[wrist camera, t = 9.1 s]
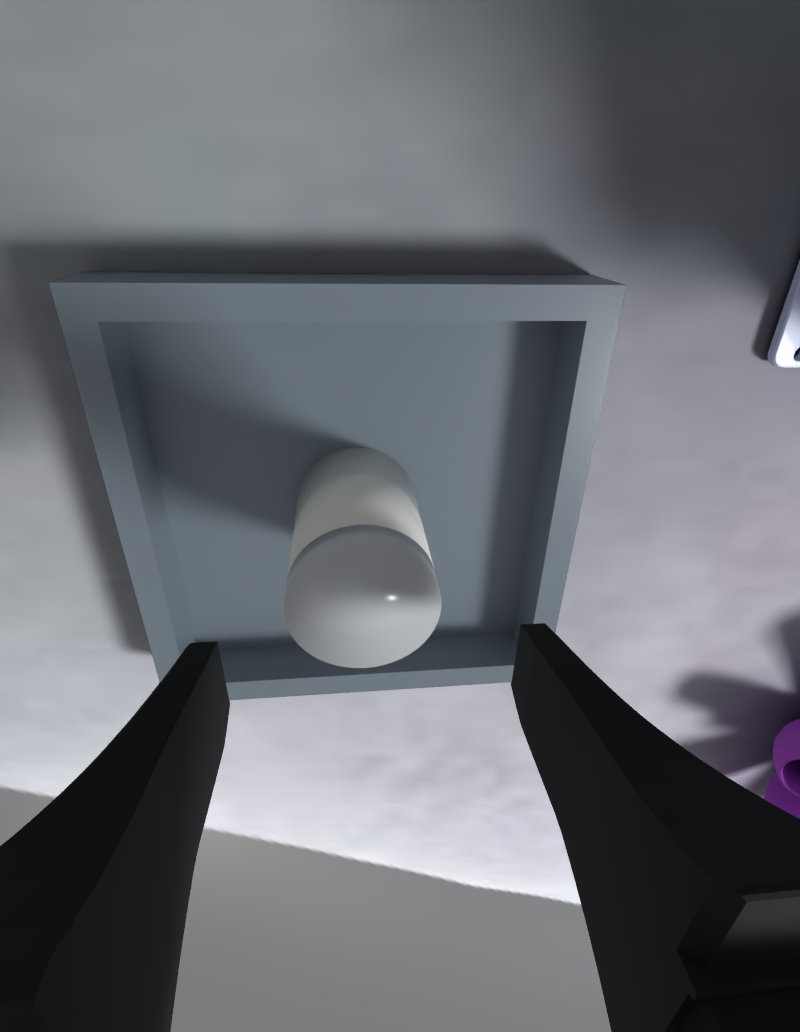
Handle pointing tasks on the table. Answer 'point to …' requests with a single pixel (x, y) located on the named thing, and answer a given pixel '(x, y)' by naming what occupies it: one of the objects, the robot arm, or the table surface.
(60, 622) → the table surface
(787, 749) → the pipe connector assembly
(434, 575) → the cylinder
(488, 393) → the tray
